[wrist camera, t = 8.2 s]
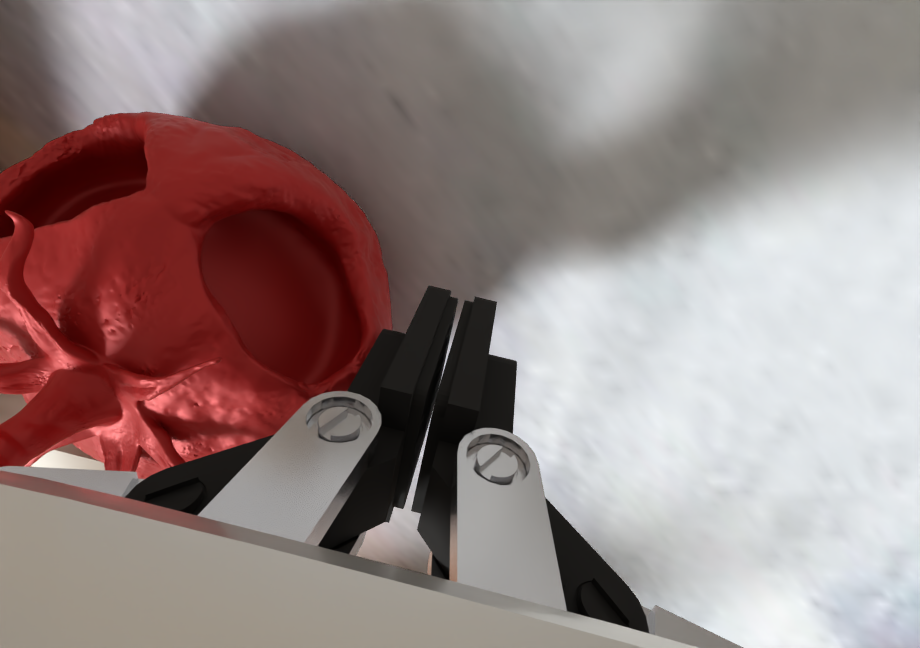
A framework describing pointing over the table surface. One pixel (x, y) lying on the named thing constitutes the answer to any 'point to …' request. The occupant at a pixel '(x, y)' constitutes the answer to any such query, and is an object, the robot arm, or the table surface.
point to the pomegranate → (176, 291)
